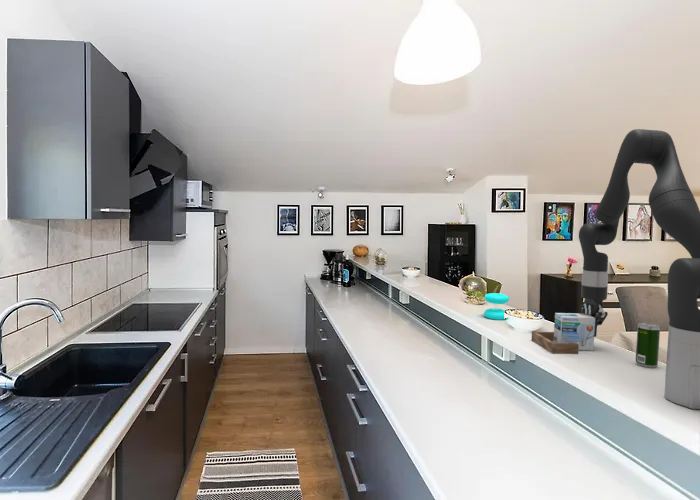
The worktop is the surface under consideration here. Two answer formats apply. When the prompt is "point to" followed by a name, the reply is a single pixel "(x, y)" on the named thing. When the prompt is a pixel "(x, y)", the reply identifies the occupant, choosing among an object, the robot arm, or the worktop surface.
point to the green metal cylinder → (647, 345)
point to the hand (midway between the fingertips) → (591, 336)
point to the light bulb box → (575, 329)
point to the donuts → (493, 312)
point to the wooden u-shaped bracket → (546, 342)
